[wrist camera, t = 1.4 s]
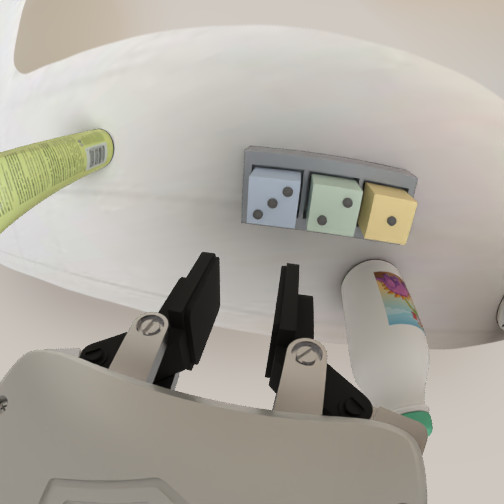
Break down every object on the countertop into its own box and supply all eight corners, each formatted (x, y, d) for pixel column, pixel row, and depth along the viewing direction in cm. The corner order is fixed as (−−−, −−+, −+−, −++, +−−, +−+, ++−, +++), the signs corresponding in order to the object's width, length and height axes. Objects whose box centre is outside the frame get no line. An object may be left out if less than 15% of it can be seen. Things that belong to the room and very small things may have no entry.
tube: (78, 155, 28) (-47, 219, 12) (89, 120, 26) (-51, 168, 9) (108, 174, 29) (-21, 254, 13) (121, 138, 27) (-27, 200, 10)
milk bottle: (354, 317, 34) (370, 463, 17) (329, 276, 31) (339, 443, 14) (407, 292, 31) (453, 435, 14) (387, 246, 28) (451, 405, 11)
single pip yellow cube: (404, 189, 22) (418, 203, 19) (394, 228, 24) (405, 246, 21) (365, 181, 23) (375, 194, 20) (357, 222, 25) (364, 239, 22)
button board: (406, 170, 24) (417, 178, 21) (392, 231, 27) (400, 244, 25) (250, 146, 25) (244, 150, 23) (246, 211, 29) (241, 223, 26)
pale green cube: (355, 180, 23) (363, 192, 20) (347, 220, 25) (353, 238, 22) (311, 173, 23) (313, 184, 20) (306, 214, 25) (306, 231, 22)
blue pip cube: (300, 171, 23) (300, 182, 20) (295, 213, 25) (294, 229, 22) (255, 166, 24) (248, 176, 21) (253, 207, 26) (246, 223, 23)
